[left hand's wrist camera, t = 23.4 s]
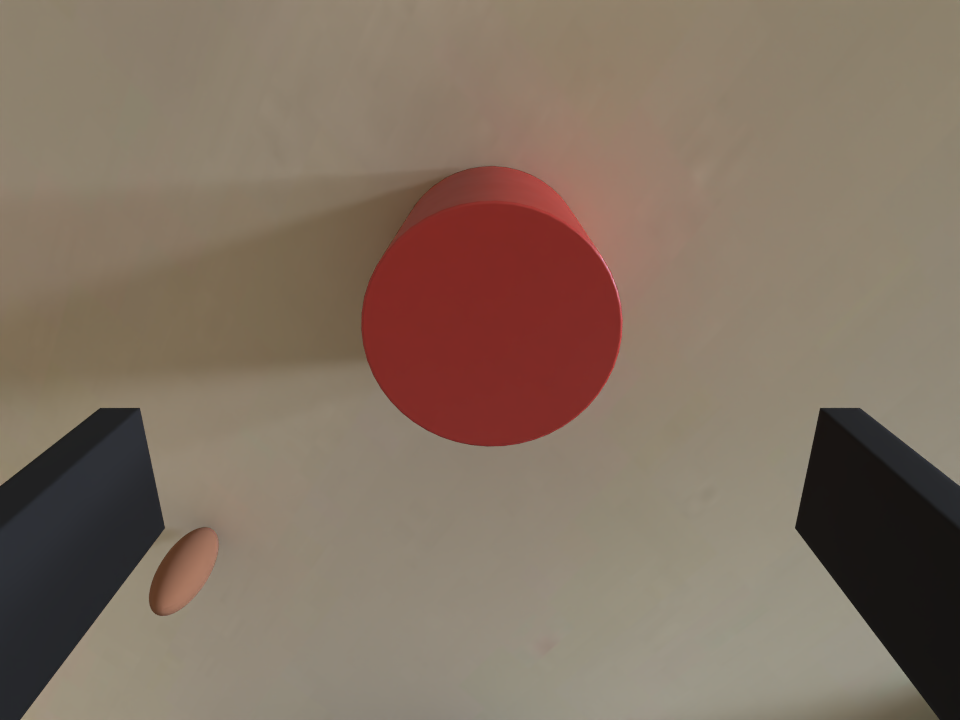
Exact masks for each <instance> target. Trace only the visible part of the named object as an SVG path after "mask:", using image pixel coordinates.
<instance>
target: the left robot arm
mask: <svg viewBox="0 0 960 720" xmlns="http://www.w3.org/2000/svg"><path fill="white" fill-rule="evenodd" d="M164 529H165V526H164V521H163V517H162V512H161V507H160V502H159V498H158V493H157V488H156V483H155V478H154V474H153V469H152V464H151V459H150V455H149V450H148V445H147V440H146V435H145V431H144V426H143V421H142V416H141V411H140V408H100V409H98V410H97V411H96V412H94V413H93V414H92V415H91V416H89V417H88V418H87V419H86V420H84V421H83V422H82V423H80V424H79V425H78V426H77V427H75V428H74V429H73V430H71V431H70V432H69V433H68V434H66V435H65V436H64V437H63V438H61V439H60V440H59V441H57V442H56V443H55V444H54V445H52V446H51V447H50V448H48V449H47V450H46V451H45V452H43V453H42V454H41V455H40V456H38V457H37V458H36V459H34V460H33V461H32V462H31V463H29V464H28V465H27V466H25V467H24V468H23V469H22V470H20V471H19V472H18V473H17V474H15V475H14V476H13V477H11V478H10V479H9V480H8V481H6V482H5V483H4V484H2V485H1V486H0V720H20V719H21V718H22V717H23V715H24V714H25V713H26V711H27V710H28V709H29V707H30V706H31V705H32V703H33V702H34V701H35V699H36V698H37V697H38V695H39V694H40V693H41V691H42V690H43V689H44V688H45V686H46V685H47V684H48V682H49V681H50V680H51V678H52V677H53V676H54V674H55V673H56V672H57V670H58V669H59V668H60V666H61V665H62V664H63V662H64V661H65V660H66V658H67V657H68V656H69V654H70V653H71V652H72V650H73V649H74V648H75V646H76V645H77V644H78V642H79V641H80V640H81V639H82V637H83V636H84V635H85V633H86V632H87V631H88V629H89V628H90V627H91V625H92V624H93V623H94V621H95V620H96V619H97V617H98V616H99V615H100V613H101V612H102V611H103V609H104V608H105V607H106V605H107V604H108V603H109V601H110V600H111V599H112V597H113V596H114V595H115V593H116V592H117V591H118V590H119V588H120V587H121V586H122V584H123V583H124V582H125V580H126V579H127V578H128V576H129V575H130V574H131V572H132V571H133V570H134V568H135V567H136V566H137V564H138V563H139V562H140V560H141V559H142V558H143V556H144V555H145V554H146V552H147V551H148V550H149V548H150V547H151V546H152V544H153V543H154V542H155V541H156V539H157V538H158V537H159V535H160V534H161V533H162V531H163V530H164ZM795 529H796V530H797V531H798V533H799V534H800V535H801V537H802V538H803V539H804V541H805V542H806V543H807V544H808V546H809V547H810V548H811V550H812V551H813V552H814V554H815V555H816V556H817V558H818V559H819V560H820V562H821V563H822V564H823V566H824V567H825V568H826V570H827V571H828V572H829V574H830V575H831V576H832V578H833V579H834V580H835V582H836V583H837V584H838V586H839V587H840V588H841V590H842V591H843V592H844V593H845V595H846V596H847V597H848V599H849V600H850V601H851V603H852V604H853V605H854V607H855V608H856V609H857V611H858V612H859V613H860V615H861V616H862V617H863V619H864V620H865V621H866V623H867V624H868V625H869V627H870V628H871V629H872V631H873V632H874V633H875V635H876V636H877V637H878V639H879V640H880V641H881V642H882V644H883V645H884V646H885V648H886V649H887V650H888V652H889V653H890V654H891V656H892V657H893V658H894V660H895V661H896V662H897V664H898V665H899V666H900V668H901V669H902V670H903V672H904V673H905V674H906V676H907V677H908V678H909V680H910V681H911V682H912V684H913V685H914V686H915V688H916V689H917V690H918V691H919V693H920V694H921V695H922V697H923V698H924V699H925V701H926V702H927V703H928V705H929V706H930V707H931V709H932V710H933V711H934V713H935V714H936V715H937V717H938V718H939V719H940V720H960V486H959V485H958V484H956V483H955V482H954V481H952V480H951V479H950V478H949V477H947V476H946V475H945V474H943V473H942V472H941V471H940V470H938V469H937V468H936V467H935V466H933V465H932V464H931V463H929V462H928V461H927V460H926V459H924V458H923V457H922V456H920V455H919V454H918V453H917V452H915V451H914V450H913V449H912V448H910V447H909V446H908V445H906V444H905V443H904V442H903V441H901V440H900V439H899V438H897V437H896V436H895V435H894V434H892V433H891V432H890V431H889V430H887V429H886V428H885V427H883V426H882V425H881V424H880V423H878V422H877V421H876V420H874V419H873V418H872V417H871V416H869V415H868V414H867V413H866V412H864V411H863V410H862V409H860V408H820V411H819V416H818V421H817V426H816V431H815V435H814V440H813V445H812V450H811V454H810V459H809V464H808V469H807V474H806V478H805V483H804V488H803V493H802V498H801V502H800V507H799V512H798V517H797V521H796V526H795Z"/></svg>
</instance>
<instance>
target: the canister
mask: <svg viewBox="0 0 960 720" xmlns="http://www.w3.org/2000/svg"><path fill="white" fill-rule="evenodd" d="M622 321H623V320H622V309H621V302H620V298H619V294H618V289H617V286H616V284H615V281H614V279H613V276H612V274H611V272H610V270H609V268H608V266H607V265H606V263H605V261H604V259H603V258H602V256H601V255H600V253H599V252H598V250H597V249H596V247H595V246H594V244H593V243H592V241H591V240H590V238H589V237H588V235H587V234H586V232H585V231H584V229H583V228H582V226H581V225H580V223H579V222H578V220H577V219H576V217H575V216H574V214H573V213H572V211H571V210H570V208H569V207H568V206H567V204H566V203H565V202H564V200H563V199H562V198H561V197H560V196H559V195H558V194H557V193H556V192H555V191H554V190H553V189H552V188H551V187H549V186H548V185H547V184H545V183H544V182H543V181H541V180H539V179H537V178H536V177H534V176H532V175H530V174H527V173H525V172H522V171H519V170H515V169H511V168H507V167H496V166H488V167H477V168H472V169H467V170H464V171H461V172H458V173H455V174H453V175H451V176H449V177H447V178H445V179H443V180H442V181H440V182H439V183H437V184H436V185H434V186H433V187H432V188H431V189H430V190H428V191H427V192H426V193H425V194H424V195H423V196H422V197H421V199H420V200H419V201H418V202H417V203H416V205H415V206H414V208H413V209H412V211H411V212H410V214H409V215H408V217H407V219H406V220H405V222H404V223H403V225H402V226H401V228H400V230H399V231H398V233H397V234H396V236H395V237H394V239H393V241H392V242H391V244H390V245H389V247H388V248H387V250H386V252H385V253H384V255H383V256H382V258H381V259H380V261H379V263H378V264H377V266H376V268H375V270H374V272H373V274H372V276H371V278H370V281H369V283H368V287H367V290H366V293H365V296H364V302H363V308H362V323H361V330H362V339H363V346H364V350H365V354H366V358H367V361H368V363H369V366H370V368H371V371H372V373H373V375H374V377H375V379H376V381H377V382H378V384H379V386H380V388H381V389H382V390H383V392H384V393H385V394H386V396H387V397H388V398H389V400H390V401H391V402H392V403H393V404H394V405H395V406H396V407H397V408H398V409H399V410H400V411H401V412H402V413H403V414H404V415H406V416H407V417H408V418H409V419H411V420H412V421H413V422H414V423H416V424H418V425H419V426H421V427H423V428H424V429H426V430H427V431H430V432H432V433H434V434H436V435H438V436H440V437H443V438H446V439H449V440H452V441H455V442H460V443H464V444H469V445H478V446H506V445H513V444H520V443H523V442H527V441H531V440H535V439H537V438H540V437H542V436H545V435H547V434H550V433H552V432H553V431H555V430H557V429H559V428H561V427H563V426H564V425H566V424H567V423H569V422H570V421H571V420H573V419H574V418H576V417H577V416H578V415H579V414H580V413H581V412H582V411H583V410H585V409H586V408H587V407H588V406H589V405H590V403H591V402H592V401H593V400H594V399H595V398H596V396H597V395H598V394H599V392H600V391H601V389H602V388H603V386H604V385H605V383H606V382H607V380H608V378H609V376H610V374H611V372H612V370H613V368H614V365H615V362H616V359H617V356H618V353H619V348H620V343H621V338H622Z"/></svg>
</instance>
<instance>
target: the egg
mask: <svg viewBox="0 0 960 720" xmlns="http://www.w3.org/2000/svg"><path fill="white" fill-rule="evenodd" d="M218 546H219V543H218V537H217V534H216V533H215V531H214V530H212V529H211V528H207V527H203V528H198V529H195V530H193V531H191V532H190V533H188V534H186V535H185V536H184V537H182V538H181V539H180V540H179V541H178V542H177V543H176V544H175V545H174V546H173V547H172V548H171V549H170V551H169V552H168V553H167V555H166V556H165V557H164V559H163V560H162V562H161V564H160V565H159V567H158V569H157V571H156V573H155V576H154V578H153V581H152V584H151V588H150V593H149V603H150V607H151V609H152V611H153V612H154V613H155V614H157V615H159V616H167V615H170V614H173V613H175V612H177V611H178V610H180V609H181V608H183V607H184V606H185V605H187V604H188V603H189V602H190V601H191V600H192V599H193V598H194V597H195V596H196V594H197V593H198V592H199V591H200V589H201V588H202V587H203V585H204V584H205V582H206V581H207V579H208V577H209V575H210V573H211V571H212V569H213V567H214V564H215V561H216V558H217V554H218Z"/></svg>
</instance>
